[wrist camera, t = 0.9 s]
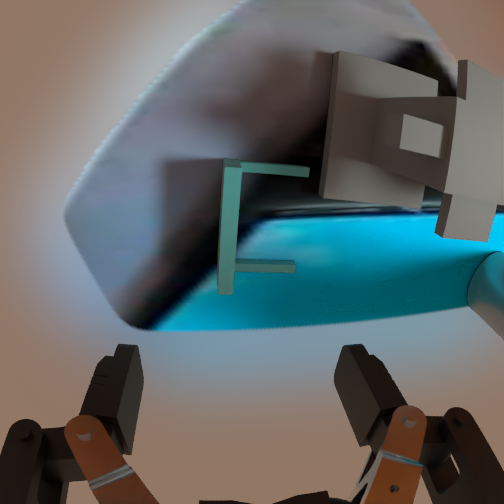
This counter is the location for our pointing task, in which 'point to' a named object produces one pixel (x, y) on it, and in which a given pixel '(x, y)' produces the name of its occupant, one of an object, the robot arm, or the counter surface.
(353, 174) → the stand
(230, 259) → the teal c-shaped bracket
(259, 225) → the counter surface
